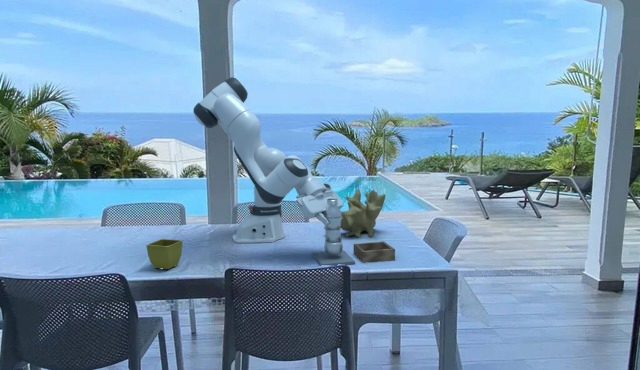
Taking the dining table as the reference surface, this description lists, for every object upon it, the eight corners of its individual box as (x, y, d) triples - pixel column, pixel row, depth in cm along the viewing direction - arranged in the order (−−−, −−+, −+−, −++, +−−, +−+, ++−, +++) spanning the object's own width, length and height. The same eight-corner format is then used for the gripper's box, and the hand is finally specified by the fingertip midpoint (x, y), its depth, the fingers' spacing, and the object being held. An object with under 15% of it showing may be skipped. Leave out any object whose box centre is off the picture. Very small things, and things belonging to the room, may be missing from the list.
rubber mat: (321, 267, 151) (321, 264, 151) (313, 255, 164) (312, 252, 164) (355, 264, 153) (355, 261, 153) (344, 252, 167) (343, 250, 167)
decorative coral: (399, 203, 202) (376, 174, 185) (397, 247, 190) (371, 219, 174) (350, 212, 215) (324, 185, 198) (345, 253, 203) (316, 228, 187)
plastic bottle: (337, 257, 154) (336, 201, 151) (320, 255, 157) (319, 200, 155) (346, 253, 159) (345, 198, 157) (329, 250, 163) (328, 197, 160)
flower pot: (163, 262, 158) (161, 238, 157) (184, 264, 156) (183, 239, 154) (147, 270, 150) (145, 244, 149) (169, 272, 147) (167, 246, 146)
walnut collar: (362, 262, 154) (362, 251, 154) (353, 254, 165) (353, 243, 165) (395, 260, 157) (395, 249, 157) (383, 251, 168) (383, 241, 167)
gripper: (298, 190, 151) (321, 222, 147) (332, 183, 167) (354, 212, 163) (288, 202, 154) (311, 233, 150) (323, 194, 171) (344, 222, 166)
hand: (334, 222), depth 156 cm, fingers closed on plastic bottle, 6 cm apart
